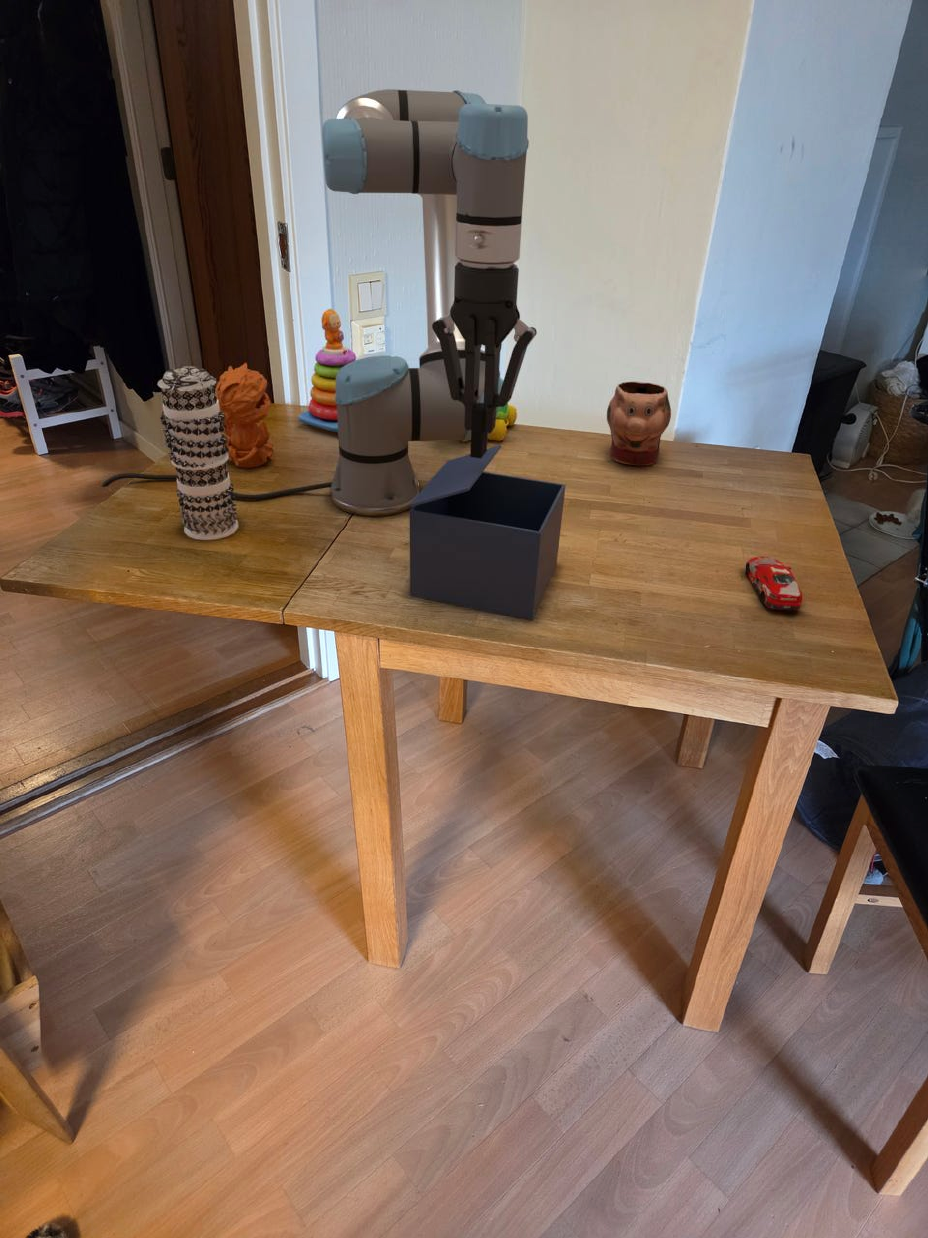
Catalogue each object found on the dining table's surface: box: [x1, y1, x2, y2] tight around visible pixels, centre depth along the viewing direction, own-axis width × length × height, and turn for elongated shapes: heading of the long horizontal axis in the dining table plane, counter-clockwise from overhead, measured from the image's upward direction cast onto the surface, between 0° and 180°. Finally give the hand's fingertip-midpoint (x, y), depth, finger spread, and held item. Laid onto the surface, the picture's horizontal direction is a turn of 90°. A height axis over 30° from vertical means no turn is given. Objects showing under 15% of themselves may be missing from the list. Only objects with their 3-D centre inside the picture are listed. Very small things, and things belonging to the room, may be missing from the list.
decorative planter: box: [606, 381, 672, 466], centre depth 152 cm, size 20×12×14 cm, turn 174°
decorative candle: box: [157, 365, 239, 541], centre depth 118 cm, size 9×9×25 cm
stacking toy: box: [298, 308, 357, 433], centre depth 158 cm, size 14×13×23 cm
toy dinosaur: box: [215, 362, 275, 469], centre depth 143 cm, size 11×11×18 cm
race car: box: [745, 555, 803, 611], centre depth 113 cm, size 13×5×4 cm, turn 177°
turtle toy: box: [487, 377, 518, 442], centre depth 160 cm, size 17×23×12 cm
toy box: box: [408, 471, 566, 621], centre depth 111 cm, size 18×16×13 cm
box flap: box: [410, 444, 502, 508], centre depth 107 cm, size 9×16×1 cm, turn 161°
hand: (478, 453), depth 104 cm, fingers closed
